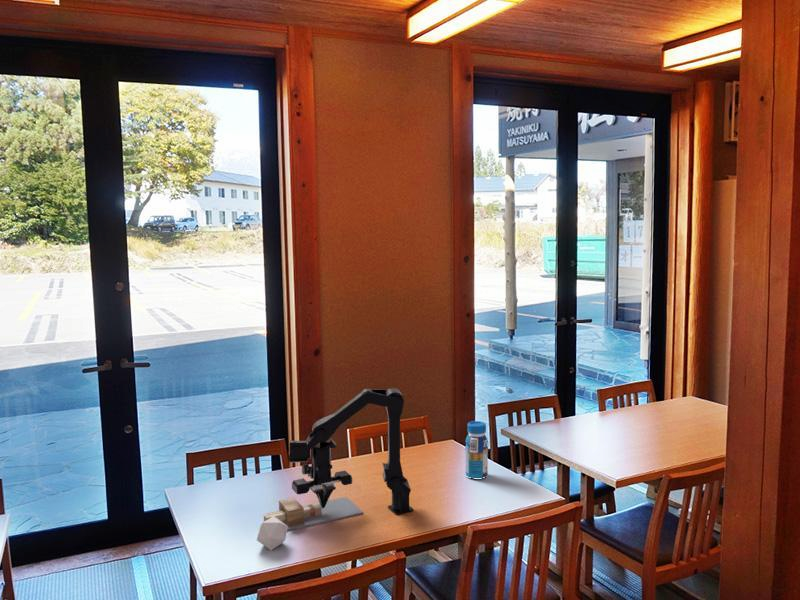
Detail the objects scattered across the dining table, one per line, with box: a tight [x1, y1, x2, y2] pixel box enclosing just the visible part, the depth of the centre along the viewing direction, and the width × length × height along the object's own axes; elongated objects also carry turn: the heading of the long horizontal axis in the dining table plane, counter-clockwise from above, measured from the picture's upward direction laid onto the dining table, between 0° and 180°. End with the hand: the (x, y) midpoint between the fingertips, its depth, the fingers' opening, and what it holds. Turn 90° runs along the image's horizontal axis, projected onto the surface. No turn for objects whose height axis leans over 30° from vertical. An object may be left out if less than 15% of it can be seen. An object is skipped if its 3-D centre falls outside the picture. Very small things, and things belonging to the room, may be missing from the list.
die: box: [256, 516, 288, 551], centre depth 190 cm, size 8×9×10 cm
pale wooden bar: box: [263, 502, 322, 523], centre depth 207 cm, size 3×18×3 cm, turn 118°
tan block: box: [278, 497, 304, 527], centre depth 206 cm, size 9×5×5 cm, turn 28°
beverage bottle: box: [464, 420, 489, 478], centre depth 241 cm, size 8×8×20 cm
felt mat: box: [266, 496, 364, 532], centre depth 211 cm, size 14×28×1 cm, turn 118°
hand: (322, 507), depth 211 cm, fingers closed
